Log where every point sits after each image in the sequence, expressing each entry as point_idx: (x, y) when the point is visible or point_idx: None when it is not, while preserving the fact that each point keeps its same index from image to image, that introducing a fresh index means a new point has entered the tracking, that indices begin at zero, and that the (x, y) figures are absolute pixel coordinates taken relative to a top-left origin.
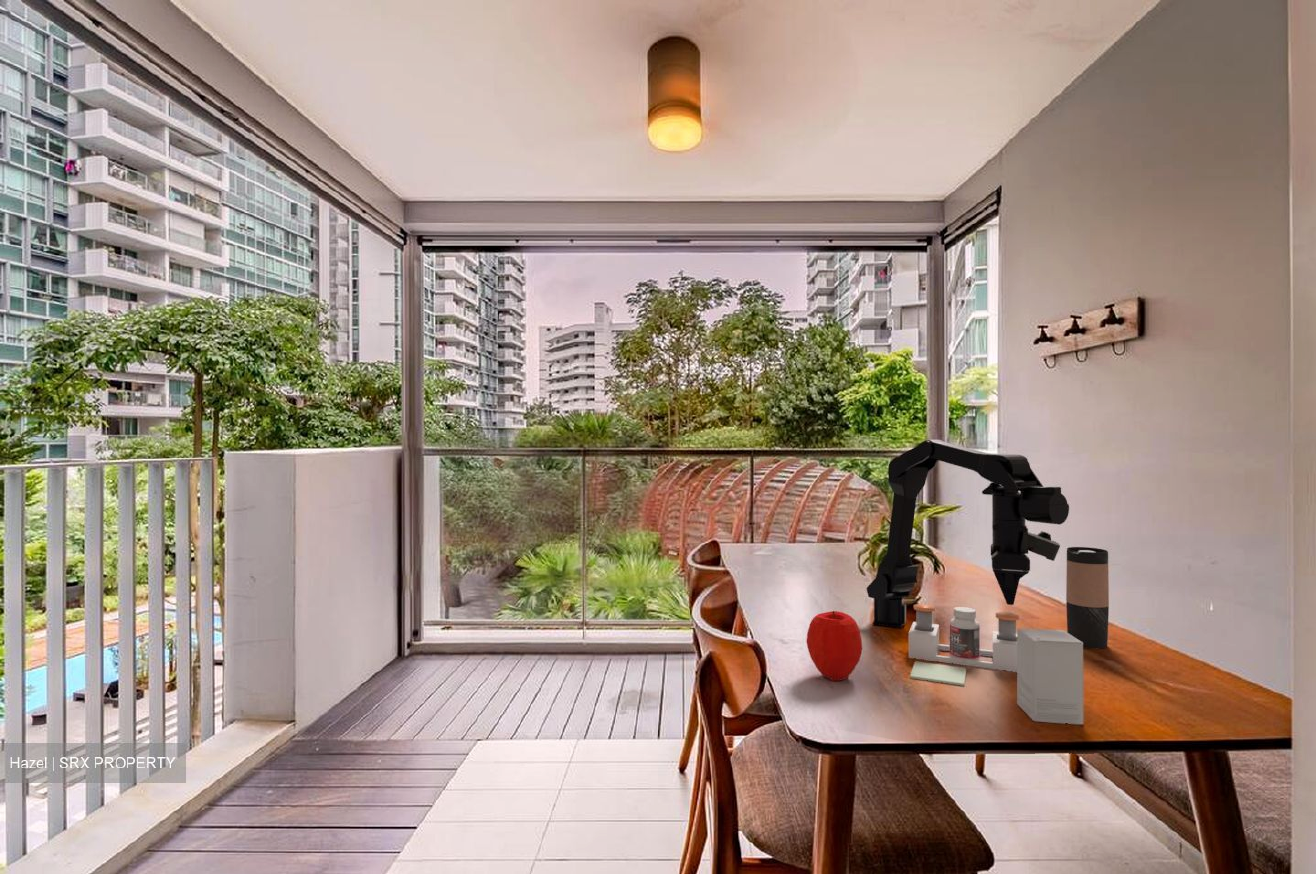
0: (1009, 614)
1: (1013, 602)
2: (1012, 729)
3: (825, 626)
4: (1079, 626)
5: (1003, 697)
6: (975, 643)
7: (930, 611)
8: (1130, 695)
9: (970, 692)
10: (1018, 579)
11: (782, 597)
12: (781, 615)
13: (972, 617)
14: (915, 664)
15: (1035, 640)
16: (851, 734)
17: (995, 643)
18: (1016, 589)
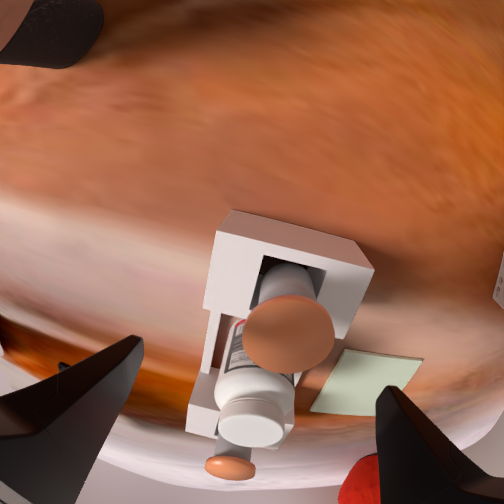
0: (280, 332)
1: (401, 393)
2: None
3: None
4: (61, 35)
5: (468, 311)
6: None
7: (252, 464)
8: (449, 64)
9: (444, 352)
10: (484, 477)
11: None
12: (125, 463)
13: (281, 410)
14: (327, 411)
15: None
16: (488, 423)
17: (345, 332)
18: (446, 439)
